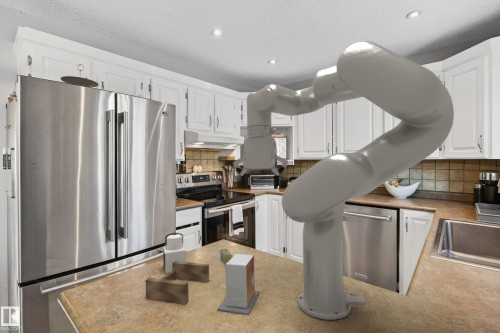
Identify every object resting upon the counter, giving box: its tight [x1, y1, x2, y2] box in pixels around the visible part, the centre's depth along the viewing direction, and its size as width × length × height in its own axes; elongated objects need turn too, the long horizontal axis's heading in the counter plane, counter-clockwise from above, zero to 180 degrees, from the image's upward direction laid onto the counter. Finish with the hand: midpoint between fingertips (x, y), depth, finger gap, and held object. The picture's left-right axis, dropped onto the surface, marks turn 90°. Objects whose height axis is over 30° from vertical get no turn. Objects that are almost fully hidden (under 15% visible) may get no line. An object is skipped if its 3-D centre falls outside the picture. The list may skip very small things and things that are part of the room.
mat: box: [216, 290, 261, 316], centre depth 65 cm, size 8×11×1 cm
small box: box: [224, 253, 256, 308], centre depth 65 cm, size 8×6×10 cm
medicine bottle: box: [162, 232, 187, 275], centre depth 87 cm, size 7×7×12 cm
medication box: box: [219, 248, 234, 265], centre depth 90 cm, size 12×3×4 cm, turn 23°
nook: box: [145, 261, 210, 305], centre depth 72 cm, size 12×14×5 cm
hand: (260, 188), depth 77 cm, fingers open, 9 cm apart
